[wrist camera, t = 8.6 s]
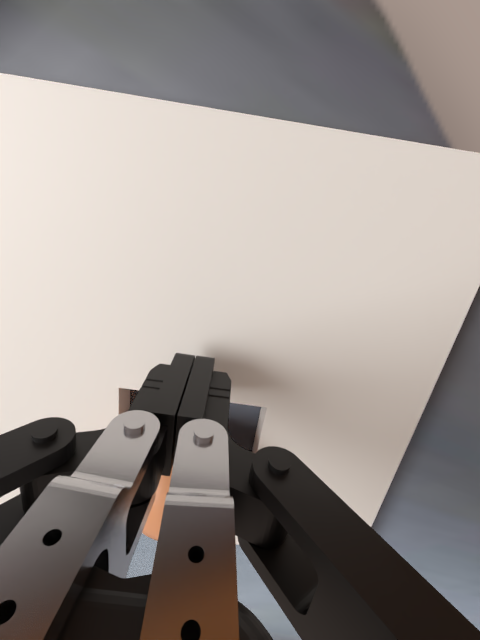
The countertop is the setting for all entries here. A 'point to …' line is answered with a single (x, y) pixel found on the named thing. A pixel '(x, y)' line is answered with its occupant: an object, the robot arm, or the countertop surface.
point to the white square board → (231, 270)
